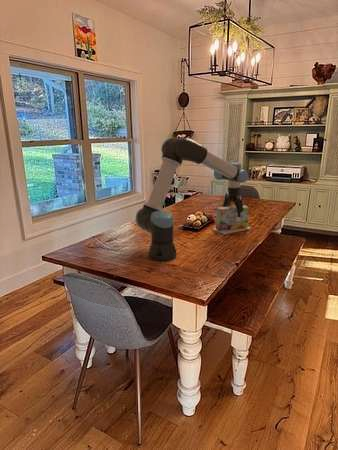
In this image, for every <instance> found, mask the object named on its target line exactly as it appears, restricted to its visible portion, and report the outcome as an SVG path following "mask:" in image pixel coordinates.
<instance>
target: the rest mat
mask: <svg viewBox="0 0 338 450" xmlns="http://www.w3.org/2000/svg"><path fill="white" fill-rule="evenodd" d="M251 229H253V227H252V226H249V225H247V228H243V229H232V230H221V231H219V230H218V229H216V227H215V228H210V230H211V231H212V232H215V233H217V234H220V235H222V236H225V235H227V234H233V233H238V232H242V231H243V232H244V231H246V230H247V231H248V230H251Z"/></svg>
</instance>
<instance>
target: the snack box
mask: <svg viewBox="0 0 338 450" xmlns="http://www.w3.org/2000/svg"><path fill="white" fill-rule="evenodd" d="M249 210H250V207H249V206H247V205H243V212H241V215H240V221H239V222H236V212H237V209H236V206H235V205H233V206H229V207H223V206H218V207H216V219H215V220H216V221H215V228H216V229H218V230H219V231H221V230H232V229H243V228H247V226H248V222H249V213H250V211H249Z"/></svg>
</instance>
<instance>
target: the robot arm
mask: <svg viewBox="0 0 338 450" xmlns="http://www.w3.org/2000/svg"><path fill="white" fill-rule="evenodd" d="M160 148H161V149H160V151H161V154H162V155H161V160H162V163H161V165H160V168H159V171H158V173H157V176H156V179H155V183H154V185H153V187H152V190H151V193H150V195H149V198H148V200H147V202H145V203H144V204H143V205H142V206H143V207H142V208H140V209H139V210H137V212H136V214H135V222H136V225H137V226H138V227H139V228H140V229H141V230H143V231H146V232H147V233H150V234H151V237H150V238H151V241H150V245H149V249H148V253H147V255H148V257H149V258H150V259H151V260H154V261H159V262H167V261H170V260H171V261H172V260H174V259H175V258H176V257H177V254H178V253H177V250H176V247H175V242H174V215H173V214H172V213H170V212H168V211H166V210H165V211H164V209H163V206H164V203H165V200H166V198H167V196H168V193H169V190H170V188H171V185H172V182H173V180H174V178H175V174H176V172H177V169H178V168H179V167H181V166H182V164H183V161H184V162H185V161H187V162H191V163H195V164H196V165H200V164H201V165H203V166H205V167H207V168H209V169H210V170H213V177H214V178H215V180H217V181H218V180H219V181H222V180H225V181H228V182H227V183H228V184H227V186H228V187H227V193H225V195H224V197H225V198H224V201H223V203H222V207H230V205H231V204H232V202H233V203H234V206H236V209H237V212H236V222H239V221H240V215H241V212H243V206H244V205H243V196H241V195H240V190H241V188H240V187H241V184H242V183H246V182H247V181H248V179H249V172H248V171H247V170H246V169H243V168H242V164H241V163H239V162H228V161H226V160H224V159H222V158H221V157H219V156H217V155H216V154H214V153H212V152H211V151H208V148H207V147H205V145H202V144H200V143H199V142H197V141H195V140H193V139H191V138H189V137H188V138H187V137H173V136H172V137H169V138H167V139H166V140H164V141H163V143H162V145H161V147H160ZM239 195H240V196H239Z"/></svg>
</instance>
